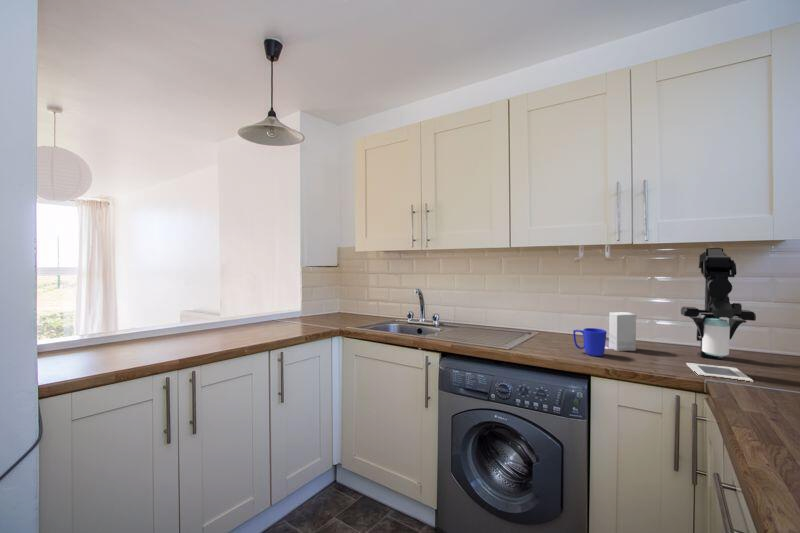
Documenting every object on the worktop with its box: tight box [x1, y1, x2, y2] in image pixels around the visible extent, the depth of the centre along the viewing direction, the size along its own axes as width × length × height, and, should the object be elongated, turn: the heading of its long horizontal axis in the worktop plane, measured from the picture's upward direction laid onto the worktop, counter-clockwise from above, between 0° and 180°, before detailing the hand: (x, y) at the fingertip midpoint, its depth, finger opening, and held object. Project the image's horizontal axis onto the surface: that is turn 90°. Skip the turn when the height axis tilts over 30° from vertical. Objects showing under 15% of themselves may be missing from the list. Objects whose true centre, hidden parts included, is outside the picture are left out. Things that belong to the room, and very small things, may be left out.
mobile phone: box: [605, 339, 614, 350], centre depth 162 cm, size 8×1×15 cm
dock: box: [685, 362, 754, 383], centre depth 125 cm, size 14×14×1 cm
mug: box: [572, 327, 608, 357], centre depth 148 cm, size 8×12×10 cm
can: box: [702, 318, 730, 357], centre depth 125 cm, size 7×7×12 cm
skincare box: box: [608, 311, 637, 352], centre depth 155 cm, size 8×7×16 cm
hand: (715, 338), depth 125 cm, fingers closed on can, 7 cm apart
